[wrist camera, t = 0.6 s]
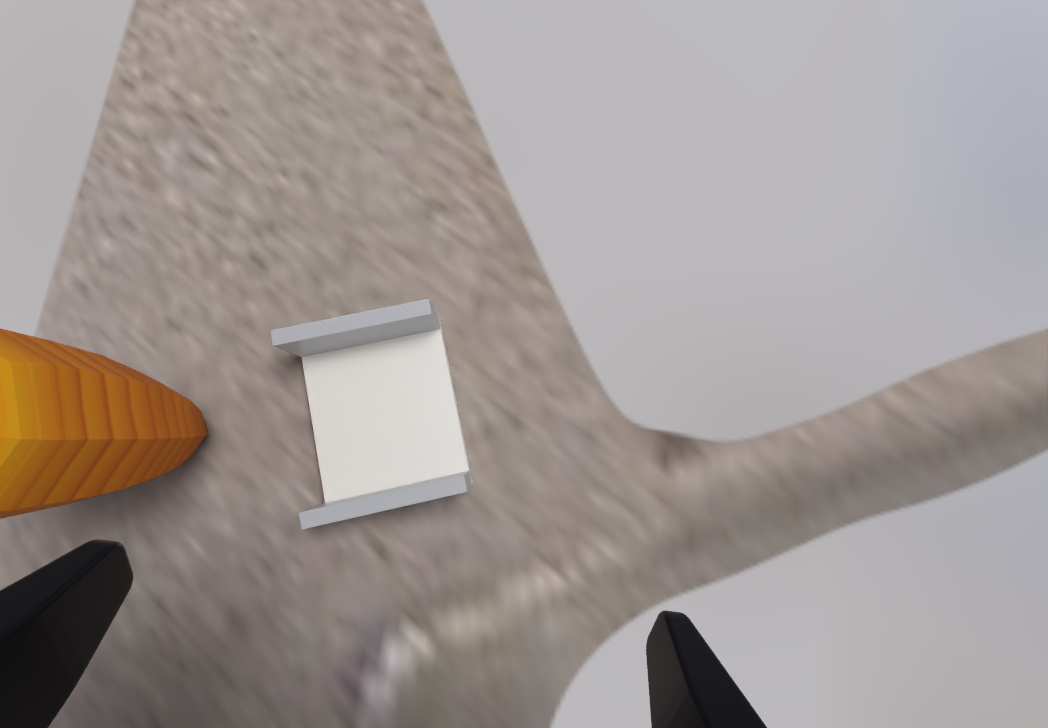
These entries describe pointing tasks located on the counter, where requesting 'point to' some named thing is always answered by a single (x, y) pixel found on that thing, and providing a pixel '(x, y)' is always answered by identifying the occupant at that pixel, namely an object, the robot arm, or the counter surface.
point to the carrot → (83, 425)
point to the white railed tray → (380, 410)
